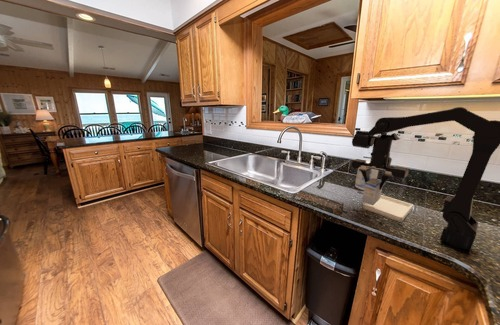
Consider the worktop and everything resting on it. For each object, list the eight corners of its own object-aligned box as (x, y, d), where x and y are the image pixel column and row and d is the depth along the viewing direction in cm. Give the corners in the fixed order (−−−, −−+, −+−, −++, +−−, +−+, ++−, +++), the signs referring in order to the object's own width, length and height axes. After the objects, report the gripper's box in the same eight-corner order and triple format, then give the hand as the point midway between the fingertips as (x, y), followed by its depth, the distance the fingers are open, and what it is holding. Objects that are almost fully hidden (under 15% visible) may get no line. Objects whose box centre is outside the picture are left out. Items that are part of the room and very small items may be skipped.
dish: (412, 208, 86) (413, 204, 85) (401, 222, 75) (402, 218, 74) (377, 197, 96) (378, 193, 96) (362, 208, 85) (363, 204, 85)
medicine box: (368, 195, 85) (371, 177, 82) (380, 199, 81) (384, 180, 79) (361, 201, 80) (364, 182, 77) (373, 205, 77) (377, 185, 74)
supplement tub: (360, 191, 103) (365, 165, 99) (351, 184, 113) (355, 160, 109) (378, 191, 103) (384, 165, 99) (368, 185, 112) (372, 160, 109)
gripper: (416, 151, 73) (406, 189, 77) (363, 144, 87) (357, 177, 91) (409, 155, 66) (399, 197, 70) (352, 147, 80) (347, 182, 84)
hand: (373, 187), depth 79 cm, fingers closed on medicine box, 4 cm apart
